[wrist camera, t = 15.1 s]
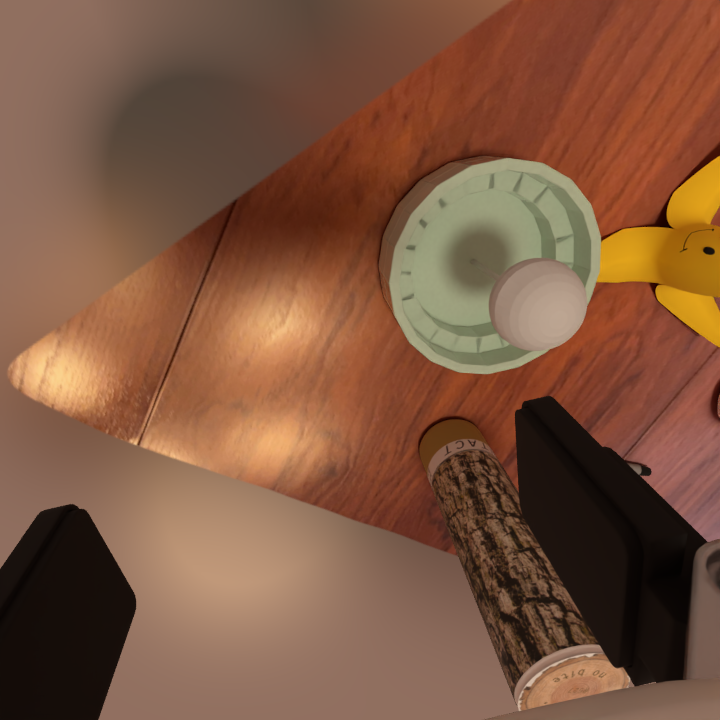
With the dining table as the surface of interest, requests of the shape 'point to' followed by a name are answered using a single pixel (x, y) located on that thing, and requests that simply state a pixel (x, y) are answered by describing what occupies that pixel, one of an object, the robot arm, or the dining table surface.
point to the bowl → (479, 253)
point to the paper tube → (512, 575)
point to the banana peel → (676, 254)
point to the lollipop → (536, 303)
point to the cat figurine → (719, 406)
